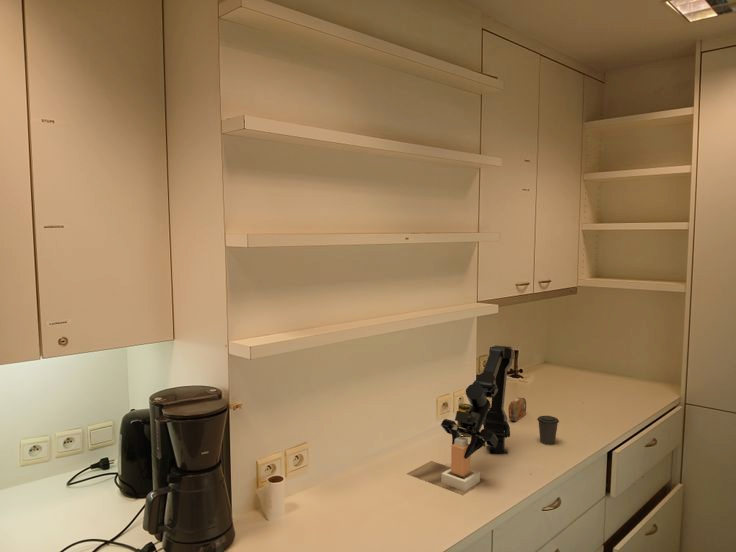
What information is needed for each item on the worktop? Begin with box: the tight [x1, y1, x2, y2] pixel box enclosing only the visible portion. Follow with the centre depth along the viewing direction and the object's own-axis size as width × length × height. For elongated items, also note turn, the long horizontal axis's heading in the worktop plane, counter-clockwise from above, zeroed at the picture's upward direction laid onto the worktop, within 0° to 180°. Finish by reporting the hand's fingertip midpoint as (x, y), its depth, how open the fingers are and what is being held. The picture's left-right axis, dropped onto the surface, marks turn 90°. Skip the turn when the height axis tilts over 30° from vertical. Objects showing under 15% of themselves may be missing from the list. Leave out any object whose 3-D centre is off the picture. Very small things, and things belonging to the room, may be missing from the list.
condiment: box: [456, 403, 471, 436], centre depth 218 cm, size 7×8×12 cm
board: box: [406, 460, 487, 496], centre depth 176 cm, size 22×14×1 cm, turn 47°
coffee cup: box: [536, 415, 560, 446], centre depth 208 cm, size 8×8×10 cm
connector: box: [450, 437, 472, 476], centre depth 172 cm, size 4×4×11 cm
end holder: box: [441, 468, 481, 491], centre depth 172 cm, size 9×9×3 cm
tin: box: [508, 397, 527, 422], centre depth 236 cm, size 15×3×8 cm, turn 143°
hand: (458, 456), depth 171 cm, fingers closed on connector, 4 cm apart
